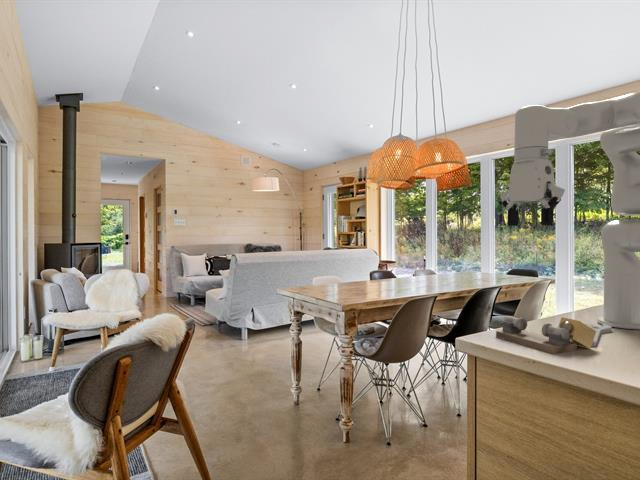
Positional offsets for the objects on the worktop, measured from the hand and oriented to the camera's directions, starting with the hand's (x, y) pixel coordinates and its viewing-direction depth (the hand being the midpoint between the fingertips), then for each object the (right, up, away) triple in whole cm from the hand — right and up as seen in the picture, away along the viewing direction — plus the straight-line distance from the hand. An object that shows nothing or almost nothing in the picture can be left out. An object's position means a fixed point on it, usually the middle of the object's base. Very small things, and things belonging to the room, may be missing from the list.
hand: (529, 225), depth 101 cm
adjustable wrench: (+20, -30, +7) cm, 37 cm away
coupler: (+12, -27, -3) cm, 30 cm away
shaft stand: (+1, -29, -1) cm, 29 cm away
